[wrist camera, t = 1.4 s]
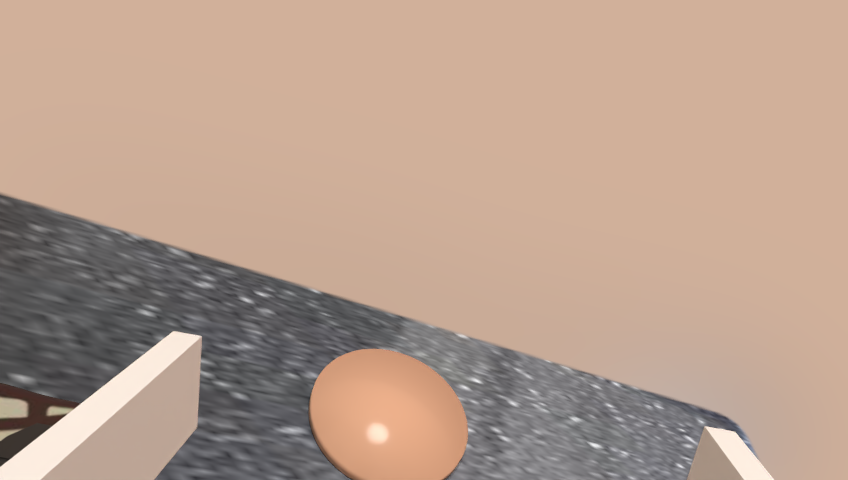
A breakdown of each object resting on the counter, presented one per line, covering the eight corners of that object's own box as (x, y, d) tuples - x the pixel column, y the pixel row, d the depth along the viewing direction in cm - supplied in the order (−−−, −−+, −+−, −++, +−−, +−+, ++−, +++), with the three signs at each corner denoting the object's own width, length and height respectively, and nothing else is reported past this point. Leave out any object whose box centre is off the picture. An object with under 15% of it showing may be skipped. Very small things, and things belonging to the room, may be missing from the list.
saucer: (276, 439, 35) (278, 431, 35) (350, 334, 46) (353, 327, 45) (439, 526, 34) (444, 520, 34) (478, 399, 45) (482, 392, 44)
